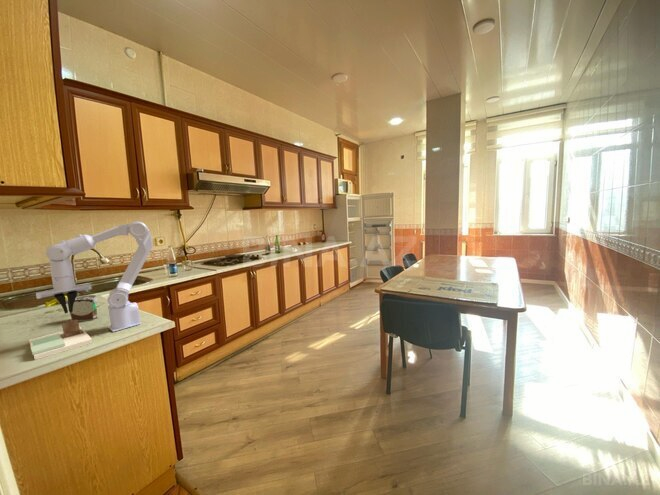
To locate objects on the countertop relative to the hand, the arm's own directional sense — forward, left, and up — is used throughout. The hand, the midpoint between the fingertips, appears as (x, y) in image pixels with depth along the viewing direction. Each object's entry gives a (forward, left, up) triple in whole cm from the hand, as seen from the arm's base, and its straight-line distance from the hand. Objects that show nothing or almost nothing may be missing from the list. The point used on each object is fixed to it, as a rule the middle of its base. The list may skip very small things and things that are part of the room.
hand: (68, 312), depth 100 cm
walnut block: (0, 0, -10) cm, 10 cm away
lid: (+7, +8, -8) cm, 14 cm away
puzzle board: (+4, +3, -10) cm, 11 cm away
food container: (-8, -23, -10) cm, 27 cm away
